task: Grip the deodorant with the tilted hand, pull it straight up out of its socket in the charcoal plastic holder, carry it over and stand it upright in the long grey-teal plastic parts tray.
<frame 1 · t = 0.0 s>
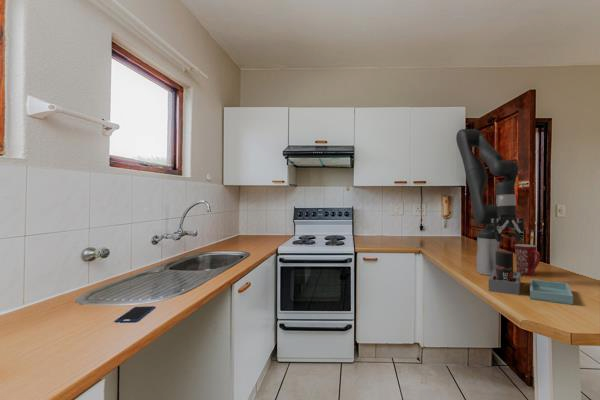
hand: (508, 241, 143), 17 cm above the worktop, tool pointing down, fingers open, 8 cm apart
tray: (549, 294, 122), on the worktop
deodorant: (504, 290, 129), resting in holder
cell phone: (136, 316, 105), on the worktop
holder: (505, 286, 134), on the worktop
mug: (528, 274, 155), on the worktop
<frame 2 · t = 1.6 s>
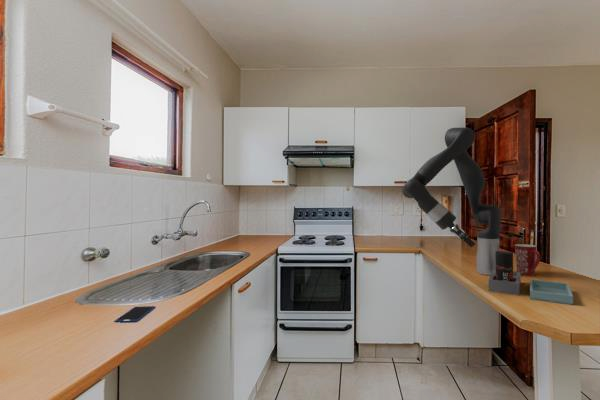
hand: (471, 244, 133), 18 cm above the worktop, tool tilted 45°, fingers open, 8 cm apart
nothing on the worktop moved.
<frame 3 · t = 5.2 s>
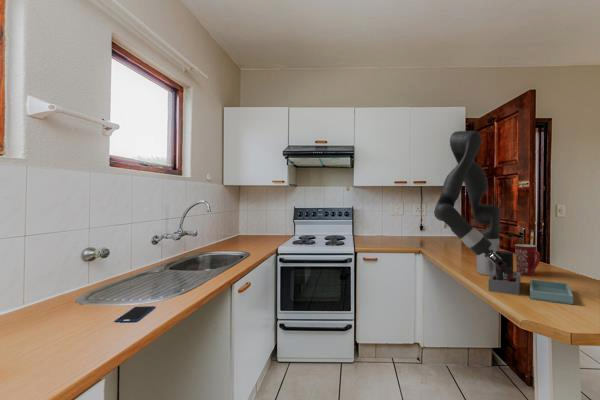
hand: (509, 271, 128), 7 cm above the worktop, tool tilted 45°, fingers closed on deodorant, 6 cm apart
deodorant: (504, 290, 129), resting in holder, touching gripper
everything else where it was.
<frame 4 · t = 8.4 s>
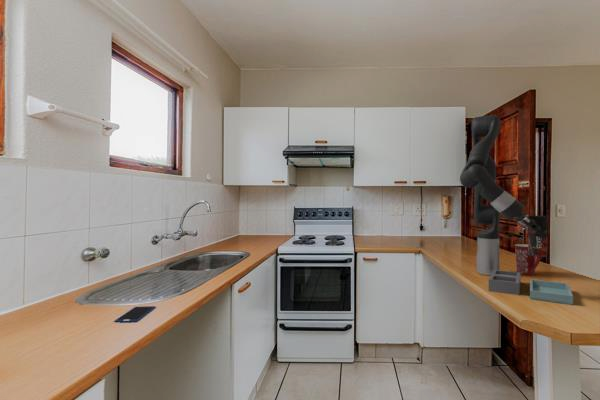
hand: (543, 236, 123), 22 cm above the worktop, tool tilted 45°, fingers closed on deodorant, 6 cm apart
deodorant: (537, 255, 123), point 14 cm above the worktop, touching gripper
everything else where it was.
when the fingers open (9 cm above the worktop, at t = 11.7 s): deodorant drops 1 cm, resting on tray.
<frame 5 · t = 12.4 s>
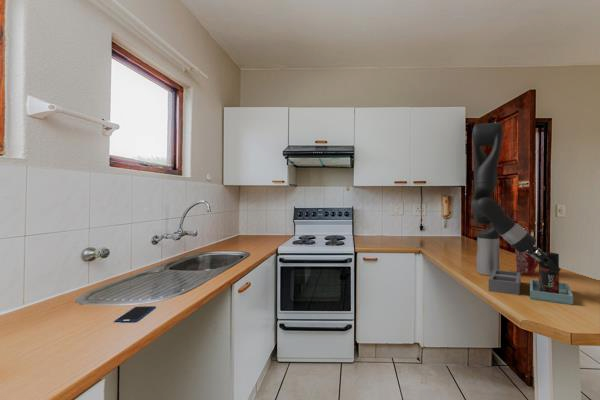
hand: (553, 268, 121), 10 cm above the worktop, tool tilted 45°, fingers open, 8 cm apart
deodorant: (549, 293, 122), resting on tray
everything else where it was.
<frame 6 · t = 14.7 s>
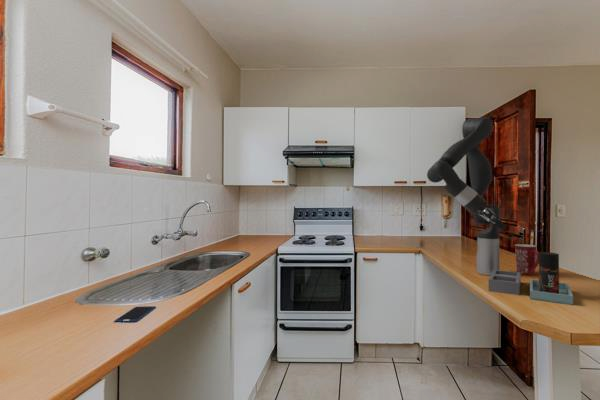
hand: (502, 227, 128), 25 cm above the worktop, tool tilted 45°, fingers open, 8 cm apart
nothing on the worktop moved.
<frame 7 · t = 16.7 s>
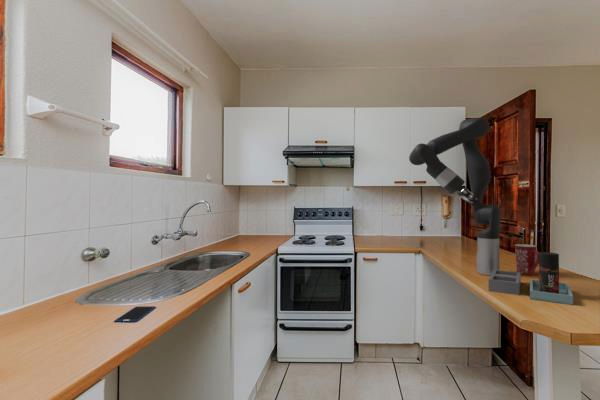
hand: (480, 207, 133), 33 cm above the worktop, tool tilted 45°, fingers open, 8 cm apart
nothing on the worktop moved.
at the end: deodorant inside the target area on the tray (0.2 cm from its centre), point 0.4 cm above the tray's base; deodorant tilted 0°; the gripper is holding nothing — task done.
